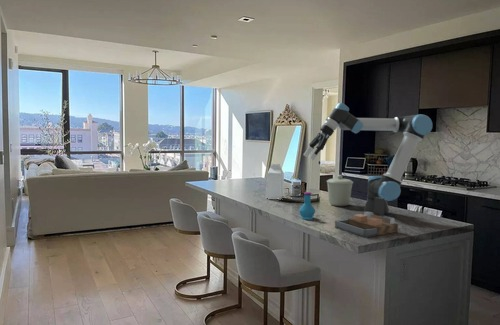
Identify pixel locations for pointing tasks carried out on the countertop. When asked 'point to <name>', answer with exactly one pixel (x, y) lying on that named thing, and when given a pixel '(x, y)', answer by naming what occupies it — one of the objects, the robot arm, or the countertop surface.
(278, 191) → the milk
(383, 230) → the board
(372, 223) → the tile
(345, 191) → the canister
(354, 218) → the tile
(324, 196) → the countertop surface
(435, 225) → the countertop surface
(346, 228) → the tray
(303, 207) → the perfume bottle
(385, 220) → the grey bar
